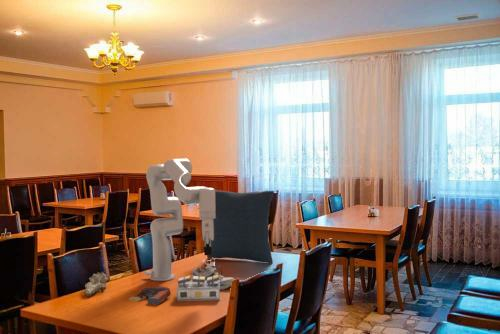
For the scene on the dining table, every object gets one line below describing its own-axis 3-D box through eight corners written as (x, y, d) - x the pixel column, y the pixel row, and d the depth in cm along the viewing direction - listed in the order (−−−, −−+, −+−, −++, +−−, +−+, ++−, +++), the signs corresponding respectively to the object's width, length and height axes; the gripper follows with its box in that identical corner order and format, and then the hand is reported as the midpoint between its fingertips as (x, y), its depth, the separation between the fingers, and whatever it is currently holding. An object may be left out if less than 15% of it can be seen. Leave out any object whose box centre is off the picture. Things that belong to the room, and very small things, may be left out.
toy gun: (160, 306, 211) (178, 293, 225) (157, 294, 211) (176, 282, 224) (127, 306, 219) (146, 293, 232) (125, 295, 218) (144, 283, 232)
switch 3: (207, 283, 220) (206, 280, 220) (207, 280, 225) (206, 277, 225) (219, 280, 220) (218, 277, 220) (219, 277, 225) (218, 274, 225)
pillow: (278, 260, 293) (278, 188, 292) (270, 266, 278) (270, 191, 277) (212, 255, 308) (212, 187, 306) (202, 261, 293) (201, 189, 291)
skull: (117, 275, 238) (101, 263, 239) (95, 296, 222) (78, 283, 222) (109, 287, 242) (94, 275, 243) (88, 308, 226) (71, 295, 226)
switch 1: (178, 284, 219) (177, 280, 219) (179, 281, 224) (178, 278, 224) (190, 281, 219) (189, 277, 219) (191, 278, 224) (190, 275, 224)
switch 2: (192, 281, 219) (192, 278, 219) (192, 279, 224) (193, 275, 224) (204, 282, 220) (204, 279, 220) (205, 279, 225) (205, 276, 224)
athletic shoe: (232, 290, 231) (233, 265, 234) (187, 288, 236) (188, 263, 239) (237, 289, 241) (238, 265, 243) (193, 288, 246) (195, 264, 248)
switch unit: (176, 301, 216) (176, 286, 215) (179, 293, 228) (179, 278, 228) (219, 300, 217) (219, 285, 216) (220, 292, 229) (219, 277, 228)
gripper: (215, 217, 214) (215, 258, 214) (216, 212, 229) (216, 251, 229) (198, 217, 213) (198, 258, 214) (200, 213, 228) (200, 251, 229)
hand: (208, 254), depth 222 cm, fingers closed
